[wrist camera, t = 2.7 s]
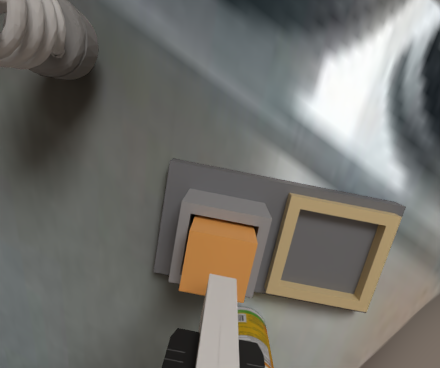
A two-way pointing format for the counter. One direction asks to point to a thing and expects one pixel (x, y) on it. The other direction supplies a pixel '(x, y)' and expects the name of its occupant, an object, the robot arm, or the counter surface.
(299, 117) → the counter surface
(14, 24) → the light bulb
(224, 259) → the switch button
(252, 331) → the supplement bottle
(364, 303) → the base
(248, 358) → the robot arm
